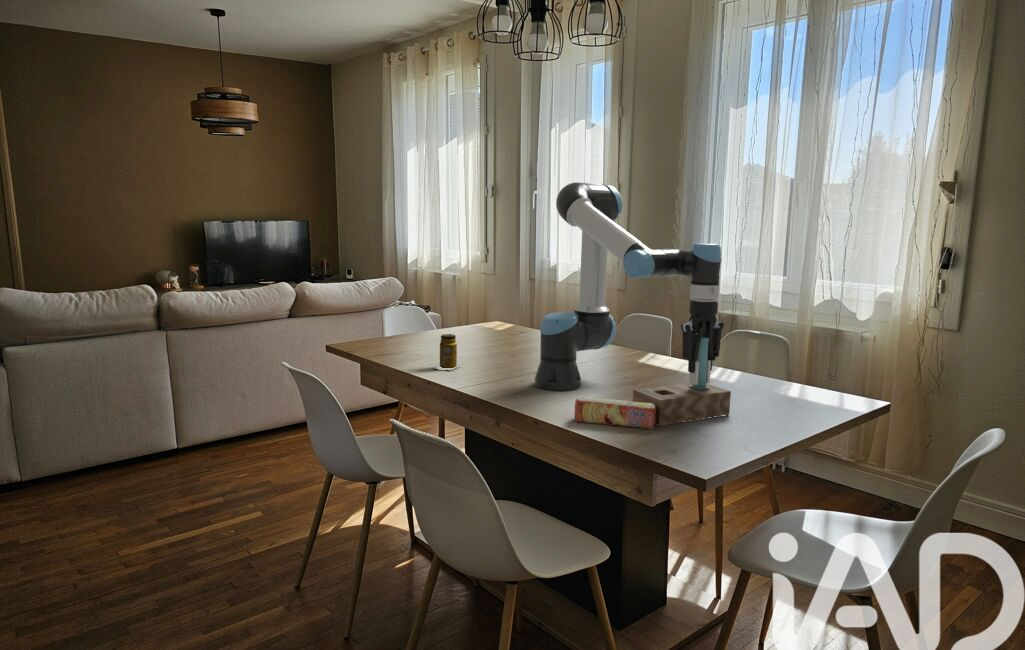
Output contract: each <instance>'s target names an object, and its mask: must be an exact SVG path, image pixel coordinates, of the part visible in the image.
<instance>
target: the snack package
mask: <svg viewBox="0 0 1025 650" xmlns="http://www.w3.org/2000/svg"><path fill="white" fill-rule="evenodd" d="M574 421H575V422H577V423H586V422H588V423H589V424H596V423H598V425H608V426H617V425H619V427H627V426H630V428H636V427H640V428H639V429H644V428H653V429H655V426H656V424H655V422H656V407H655V405H654V404H652V403H641V402H633V401H630V400H622V399H621V400H619V399H611V398H599V397H592V396H584V395H583V396H582V395H579V396H577V397H576V399H575V403H574Z"/></svg>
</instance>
